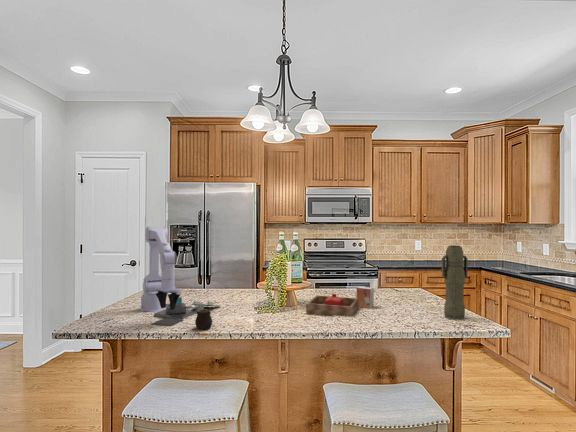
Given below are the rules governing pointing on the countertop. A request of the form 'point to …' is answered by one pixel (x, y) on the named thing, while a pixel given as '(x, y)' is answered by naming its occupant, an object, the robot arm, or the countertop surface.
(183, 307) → the grey slotted holder
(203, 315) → the mate gourd
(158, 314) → the base
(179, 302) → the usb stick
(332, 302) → the butter dish
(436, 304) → the countertop surface
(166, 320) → the key mat
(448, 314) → the thermos
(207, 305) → the metal bracket
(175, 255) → the robot arm
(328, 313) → the brown wooden tray
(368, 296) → the small box
